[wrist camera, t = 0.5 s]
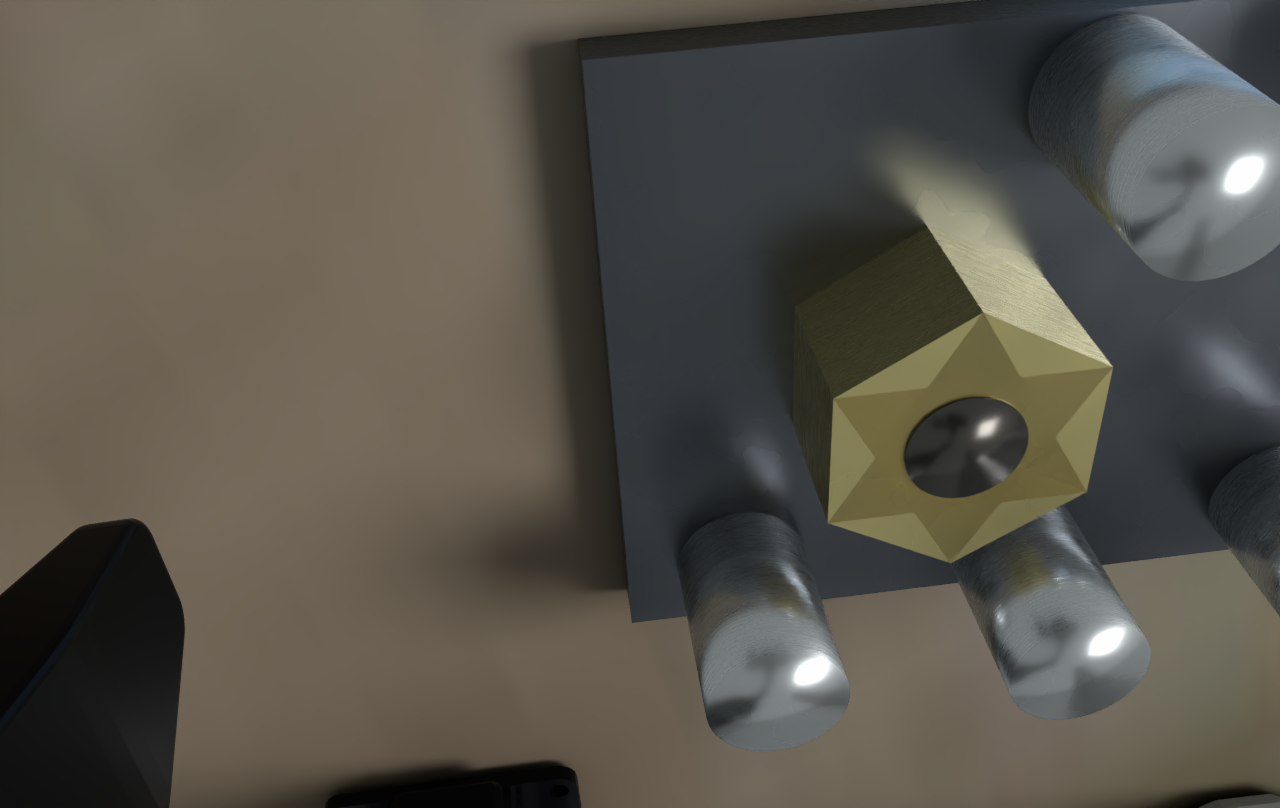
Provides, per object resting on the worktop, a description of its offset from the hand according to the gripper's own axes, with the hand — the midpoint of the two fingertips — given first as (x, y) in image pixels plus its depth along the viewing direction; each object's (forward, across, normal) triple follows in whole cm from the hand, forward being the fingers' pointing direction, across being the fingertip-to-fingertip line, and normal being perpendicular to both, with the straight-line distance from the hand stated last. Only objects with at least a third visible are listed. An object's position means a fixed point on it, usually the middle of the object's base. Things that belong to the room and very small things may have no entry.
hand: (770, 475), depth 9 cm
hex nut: (+12, -5, +8) cm, 15 cm away
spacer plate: (+13, -12, +8) cm, 19 cm away
